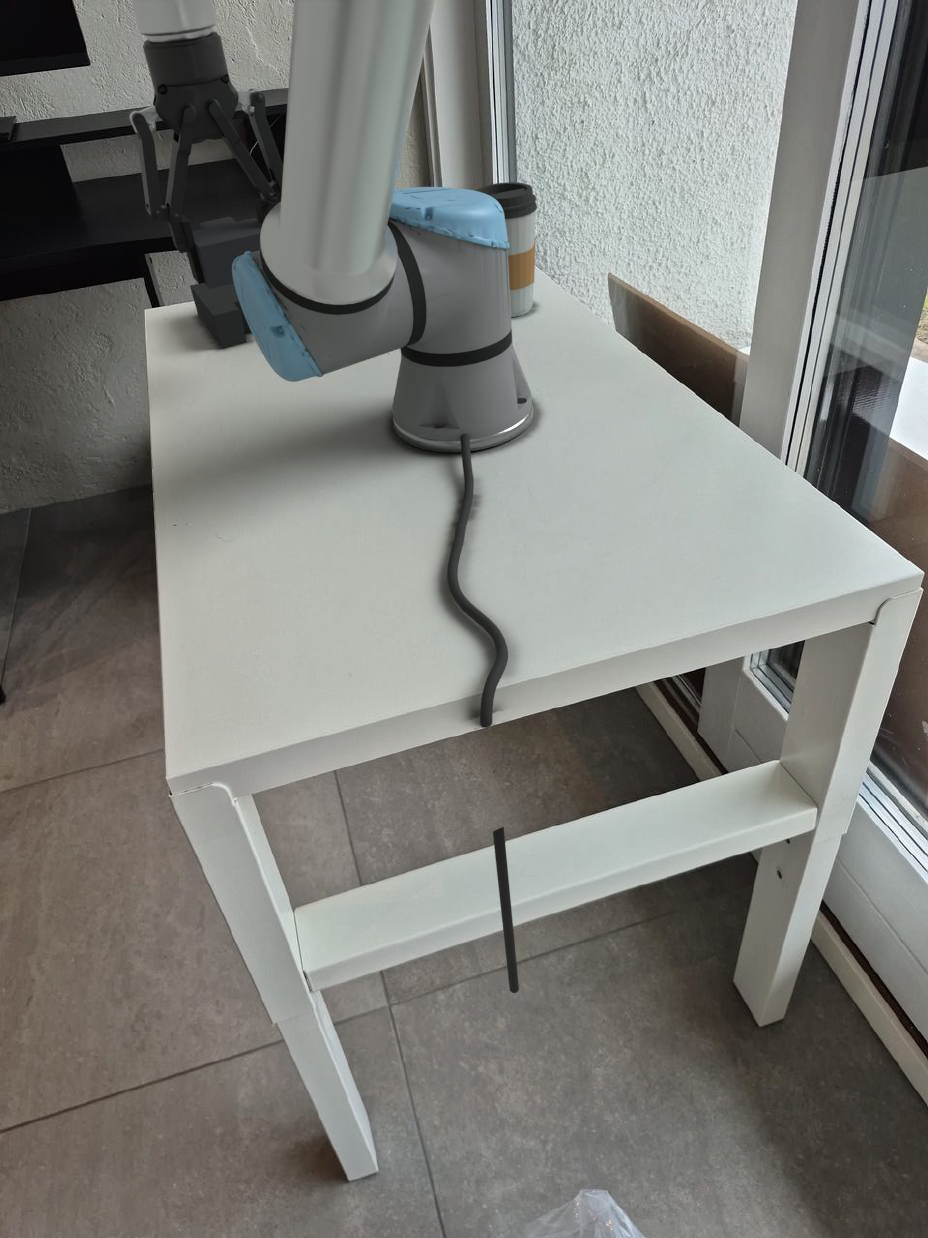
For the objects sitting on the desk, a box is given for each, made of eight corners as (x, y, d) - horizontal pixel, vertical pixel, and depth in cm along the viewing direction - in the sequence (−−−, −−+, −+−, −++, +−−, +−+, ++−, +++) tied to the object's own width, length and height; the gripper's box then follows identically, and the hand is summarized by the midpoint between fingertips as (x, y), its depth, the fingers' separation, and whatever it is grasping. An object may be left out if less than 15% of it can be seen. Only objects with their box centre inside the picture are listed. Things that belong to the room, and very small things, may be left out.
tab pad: (278, 272, 101) (270, 230, 98) (209, 289, 99) (198, 247, 96) (256, 251, 107) (248, 212, 104) (191, 267, 105) (180, 226, 102)
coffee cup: (468, 306, 124) (458, 189, 114) (522, 292, 126) (517, 177, 117) (495, 326, 118) (487, 204, 108) (551, 311, 120) (548, 190, 111)
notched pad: (307, 326, 123) (300, 293, 121) (221, 348, 120) (212, 315, 117) (277, 296, 133) (271, 266, 131) (198, 316, 130) (189, 285, 127)
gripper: (270, 14, 93) (312, 241, 108) (65, 46, 87) (138, 282, 102) (293, 20, 88) (334, 258, 103) (76, 55, 82) (152, 303, 96)
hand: (236, 270), depth 102 cm, fingers closed on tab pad, 8 cm apart
